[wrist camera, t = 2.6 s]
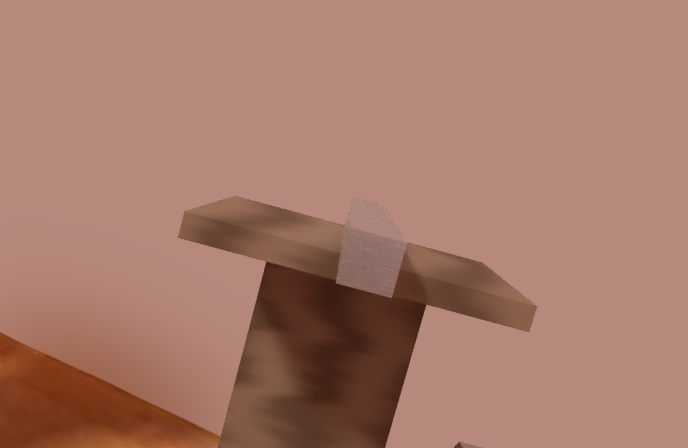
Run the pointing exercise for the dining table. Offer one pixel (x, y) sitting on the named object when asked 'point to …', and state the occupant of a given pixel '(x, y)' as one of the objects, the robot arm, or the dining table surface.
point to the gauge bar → (370, 249)
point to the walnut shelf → (332, 327)
